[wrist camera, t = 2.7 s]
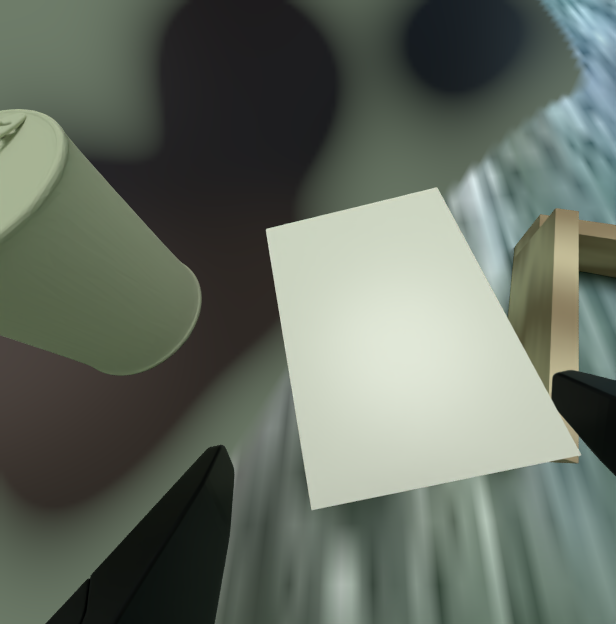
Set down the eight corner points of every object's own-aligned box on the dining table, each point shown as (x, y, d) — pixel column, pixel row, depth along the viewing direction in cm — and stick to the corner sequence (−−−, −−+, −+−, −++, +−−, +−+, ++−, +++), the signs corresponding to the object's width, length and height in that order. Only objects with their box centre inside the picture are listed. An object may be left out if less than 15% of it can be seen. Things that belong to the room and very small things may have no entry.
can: (223, 271, 22) (100, 101, 11) (162, 393, 19) (-93, 314, 8) (124, 249, 24) (-56, 90, 14) (55, 355, 21) (-256, 253, 10)
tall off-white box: (410, 453, 16) (581, 454, 4) (342, 467, 16) (310, 510, 4) (381, 361, 18) (436, 187, 6) (322, 374, 18) (265, 229, 6)
